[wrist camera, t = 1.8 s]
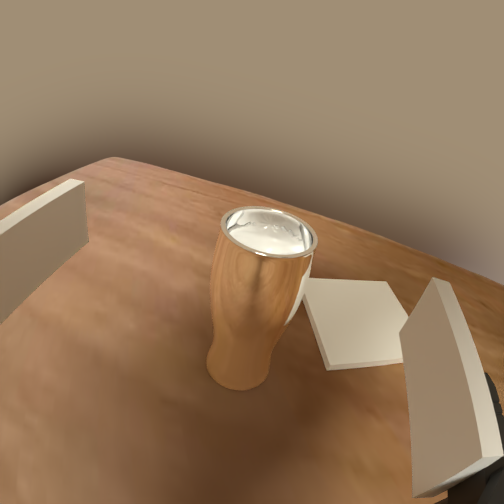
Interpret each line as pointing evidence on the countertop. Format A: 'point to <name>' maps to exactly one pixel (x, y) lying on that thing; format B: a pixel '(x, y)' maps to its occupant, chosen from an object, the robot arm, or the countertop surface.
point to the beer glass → (255, 290)
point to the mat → (355, 322)
